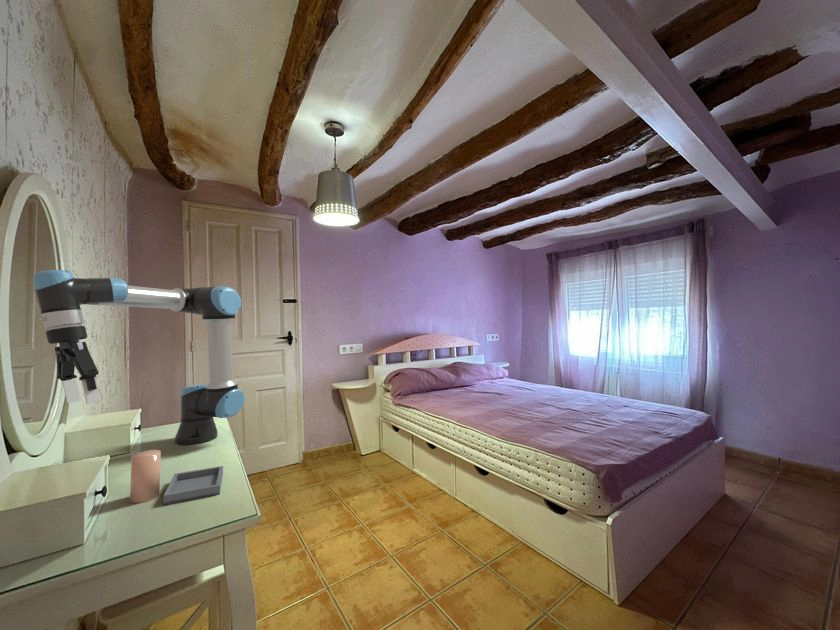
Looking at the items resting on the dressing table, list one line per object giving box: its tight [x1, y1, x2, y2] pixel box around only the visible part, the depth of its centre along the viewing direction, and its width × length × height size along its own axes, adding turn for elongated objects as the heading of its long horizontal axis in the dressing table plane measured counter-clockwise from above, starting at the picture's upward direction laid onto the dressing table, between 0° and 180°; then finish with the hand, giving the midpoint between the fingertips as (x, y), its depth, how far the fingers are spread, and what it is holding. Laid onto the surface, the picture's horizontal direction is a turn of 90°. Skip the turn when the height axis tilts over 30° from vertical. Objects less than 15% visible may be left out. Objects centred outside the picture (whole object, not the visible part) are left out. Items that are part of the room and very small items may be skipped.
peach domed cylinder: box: [129, 449, 162, 504], centre depth 93 cm, size 6×6×12 cm
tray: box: [162, 465, 224, 506], centre depth 99 cm, size 15×13×2 cm
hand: (83, 402), depth 92 cm, fingers open, 13 cm apart
